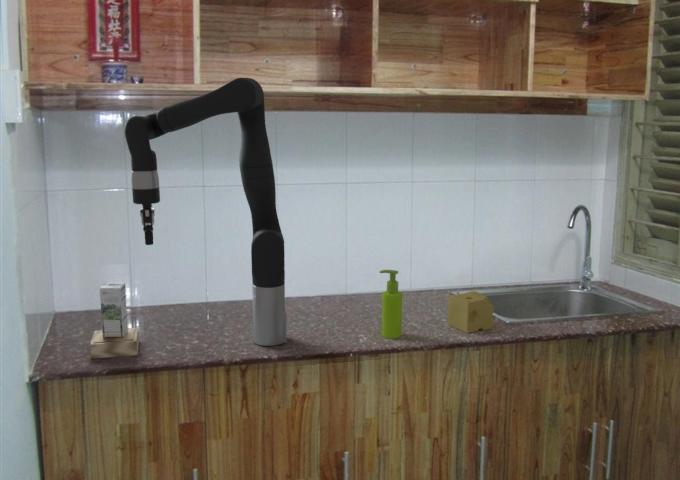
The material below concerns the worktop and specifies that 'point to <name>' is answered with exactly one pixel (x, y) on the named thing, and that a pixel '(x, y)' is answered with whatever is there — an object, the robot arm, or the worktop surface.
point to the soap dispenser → (391, 308)
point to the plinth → (114, 344)
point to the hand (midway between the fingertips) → (149, 242)
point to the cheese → (470, 312)
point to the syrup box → (113, 310)
